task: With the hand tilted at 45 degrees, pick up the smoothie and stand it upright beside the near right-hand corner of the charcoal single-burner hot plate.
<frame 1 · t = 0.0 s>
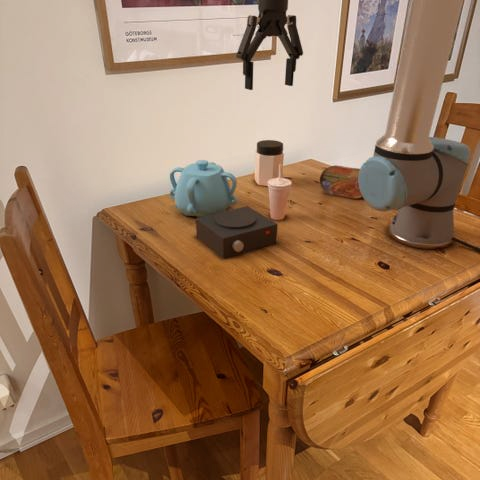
hand: (269, 87, 123), 28 cm above the table, tool pointing down, fingers open, 13 cm apart
jar: (268, 182, 143), on the table
hot plate: (236, 240, 109), on the table
tin: (343, 195, 135), on the table
decorative pot: (204, 211, 123), on the table
smoothie: (277, 217, 121), on the table
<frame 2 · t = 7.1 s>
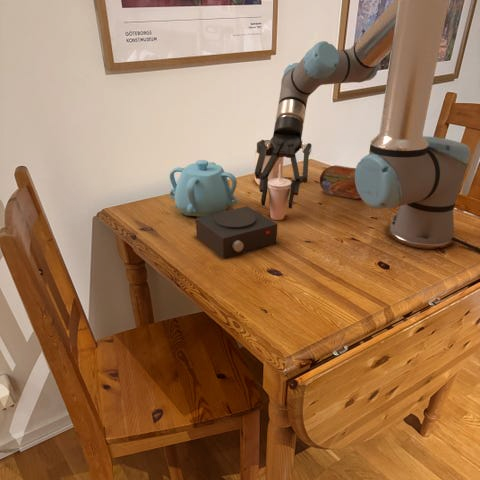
hand: (276, 204, 115), 5 cm above the table, tool tilted 45°, fingers closed on smoothie, 6 cm apart
smoothie: (277, 217, 121), on the table, touching gripper
everything else where it was.
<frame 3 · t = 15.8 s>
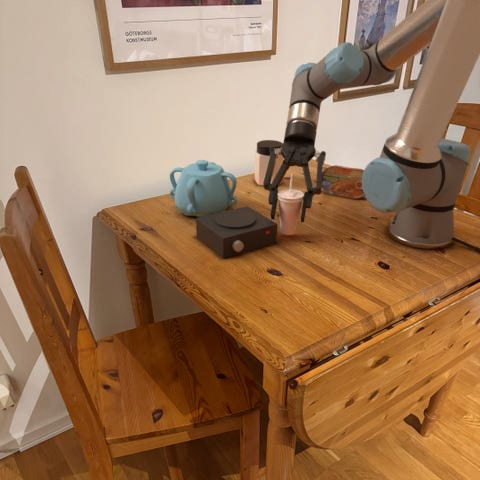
hand: (287, 218, 104), 6 cm above the table, tool tilted 45°, fingers closed on smoothie, 6 cm apart
smoothie: (287, 232, 110), point 1 cm above the table, touching gripper
everything else where it was.
when the fingers open (6 cm above the table, at t = 17.0 s): smoothie drops 1 cm, on the table.
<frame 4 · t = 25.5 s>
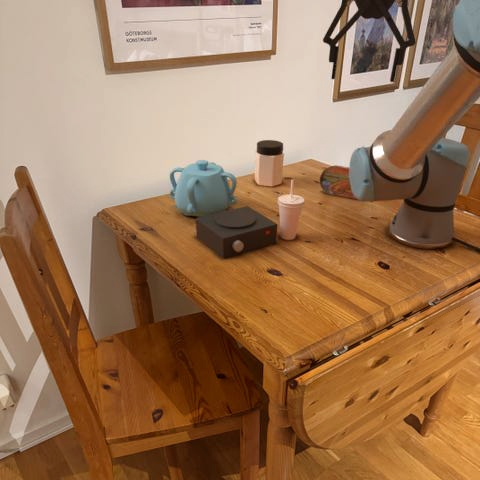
hand: (362, 80, 105), 33 cm above the table, tool pointing down, fingers open, 13 cm apart
smoothie: (287, 237, 111), on the table
everything else where it was.
at the end: smoothie inside the target area on the table beside the hot plate (0.2 cm from its centre), on the table; smoothie tilted 1°; the gripper is holding nothing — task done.
